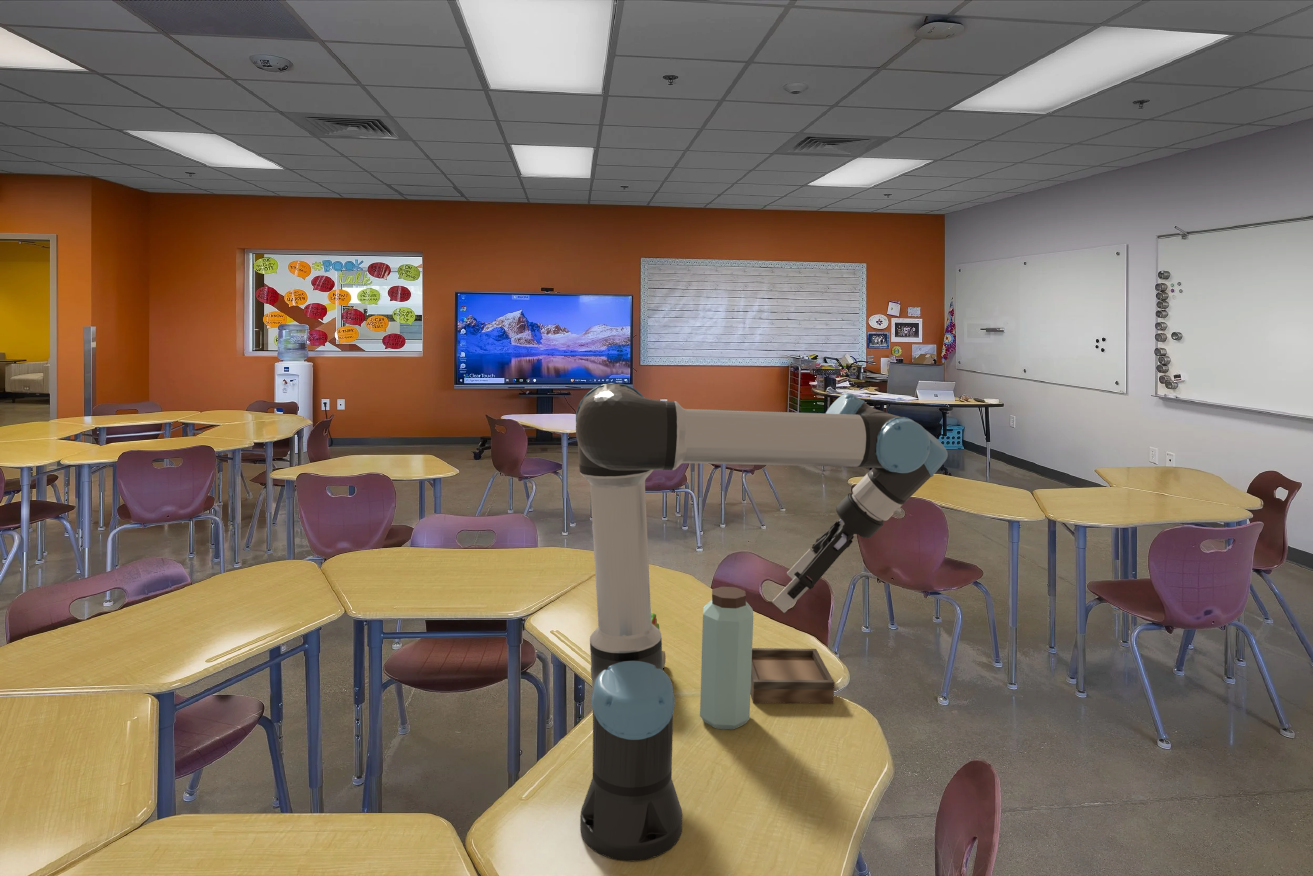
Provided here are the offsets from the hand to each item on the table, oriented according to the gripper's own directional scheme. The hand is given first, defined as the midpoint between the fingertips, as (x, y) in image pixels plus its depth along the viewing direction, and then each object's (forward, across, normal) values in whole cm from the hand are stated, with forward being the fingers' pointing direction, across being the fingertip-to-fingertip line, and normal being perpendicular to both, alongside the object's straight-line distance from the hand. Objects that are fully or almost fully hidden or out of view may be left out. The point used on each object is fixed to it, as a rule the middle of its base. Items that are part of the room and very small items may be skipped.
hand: (785, 592), depth 135 cm
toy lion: (+41, +12, +6) cm, 44 cm away
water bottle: (+29, +2, -9) cm, 31 cm away
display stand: (+25, +21, -16) cm, 36 cm away
